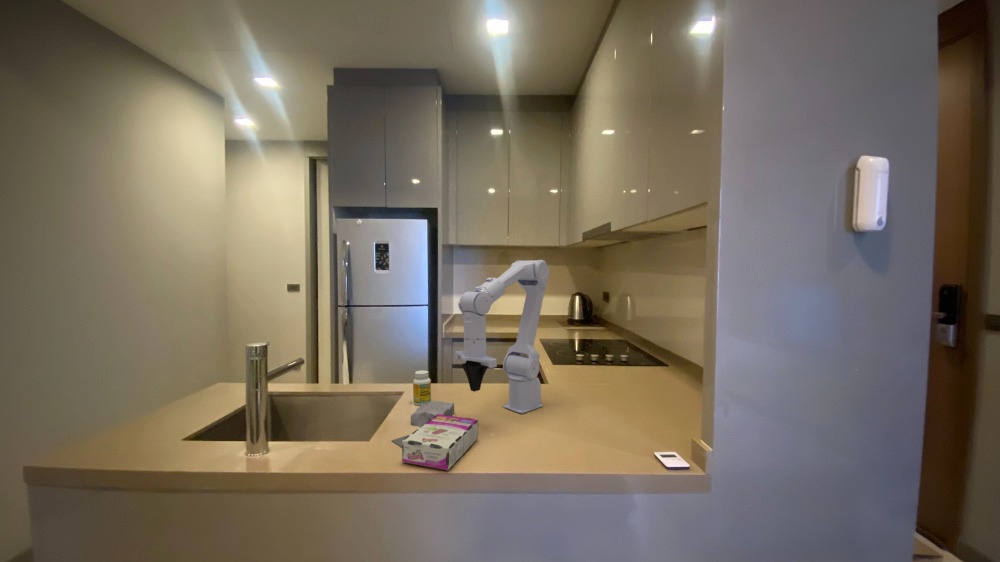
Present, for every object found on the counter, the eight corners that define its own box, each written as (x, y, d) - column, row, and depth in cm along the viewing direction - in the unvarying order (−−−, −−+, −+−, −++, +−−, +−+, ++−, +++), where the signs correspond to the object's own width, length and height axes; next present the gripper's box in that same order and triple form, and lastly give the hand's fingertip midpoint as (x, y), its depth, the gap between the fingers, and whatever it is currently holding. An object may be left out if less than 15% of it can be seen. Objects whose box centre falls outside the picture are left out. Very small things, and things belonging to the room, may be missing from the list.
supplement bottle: (424, 398, 126) (424, 368, 126) (434, 402, 122) (434, 371, 122) (409, 402, 122) (409, 371, 122) (419, 407, 119) (419, 375, 118)
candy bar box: (437, 432, 100) (400, 462, 84) (438, 413, 99) (400, 439, 84) (479, 439, 96) (448, 472, 80) (479, 419, 96) (448, 447, 80)
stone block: (408, 433, 104) (444, 428, 103) (405, 415, 105) (441, 409, 103) (425, 418, 116) (457, 413, 114) (422, 401, 116) (454, 397, 115)
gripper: (445, 336, 105) (446, 387, 106) (481, 344, 94) (481, 400, 95) (466, 333, 110) (467, 382, 110) (502, 340, 99) (503, 394, 100)
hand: (475, 390), depth 103 cm, fingers closed
